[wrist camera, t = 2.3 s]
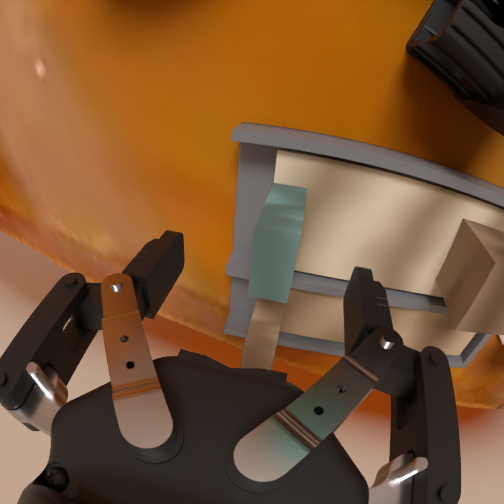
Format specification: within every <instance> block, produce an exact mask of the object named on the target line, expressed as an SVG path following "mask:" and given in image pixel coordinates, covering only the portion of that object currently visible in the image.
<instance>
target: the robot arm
mask: <svg viewBox="0 0 504 504" xmlns="http://www.w3.org/2000/svg"><path fill="white" fill-rule="evenodd" d="M183 267H184V239H183V234H182V233H180V232H174V231H169V230H167V231H165V232H164V234H163V235H162V236H161V237H160V238H159V239H153V240H152V241H150V242H148V243H146V245H145V246H144V247H143V248H142V249H141V251H140V252H139V253H138V254H137V256H135V257H134V259H133V260H132V261H131V262H130V263H129V264H128V266H127V267H126V268H125V269H124V270H123V272H122V273H116V274H112V275H109V276H107V277H106V278H105V279H104V280H103V281H102V283H86V280H85V277H84V275H83V274H81V273H69V274H67V275H65V276H63V277H62V278H61V279H60V280H59V281H58V282H57V284H56V285H55V286H54V287H53V288H52V289H51V291H50V292H49V293H48V294H47V296H46V297H45V298H44V299H43V300H42V302H41V303H40V304H39V306H38V307H37V308H36V309H35V311H34V312H33V313H32V315H31V316H30V317H29V318H28V320H27V321H26V322H25V324H24V325H23V326H22V328H21V329H20V331H19V332H18V333H17V335H16V336H15V338H14V339H13V340H12V342H11V343H10V345H9V346H8V348H7V349H6V351H5V352H4V354H3V355H2V356H1V358H0V403H1V405H2V406H3V407H4V408H5V409H6V410H7V411H8V412H9V413H10V414H11V415H12V416H13V417H14V418H16V419H17V420H18V421H20V422H21V423H23V424H24V425H25V426H26V427H27V428H28V429H30V430H32V431H42V432H44V433H45V434H48V435H49V436H51V450H50V456H49V461H48V464H47V466H46V468H45V469H44V470H43V472H42V473H41V474H40V475H39V476H38V477H37V478H36V479H35V480H34V481H33V482H32V483H30V484H29V485H28V486H27V487H26V488H25V489H24V490H23V492H22V494H21V496H20V498H19V501H18V503H17V504H457V503H458V501H459V499H460V495H461V458H460V440H459V429H458V419H457V410H456V402H455V396H454V389H453V383H452V377H451V372H450V367H449V362H448V358H447V356H446V355H445V353H444V352H443V351H442V350H440V349H439V348H437V347H434V346H427V347H425V348H424V349H423V350H422V351H421V352H419V351H416V350H414V349H412V348H409V347H407V346H405V345H404V343H403V339H402V337H401V336H400V334H399V333H398V332H396V331H395V330H394V329H393V324H392V318H391V313H390V308H389V307H388V306H389V304H388V300H387V294H386V290H385V288H384V287H383V286H382V284H381V283H380V282H379V281H374V279H373V274H372V270H371V269H369V268H364V267H359V266H355V267H354V269H353V272H352V275H351V278H350V280H349V283H348V286H347V289H346V291H345V295H344V300H343V313H344V348H345V356H344V357H343V358H342V359H341V360H340V361H339V362H338V363H336V364H335V365H334V366H333V367H332V368H331V369H330V370H329V371H328V372H327V373H326V374H325V375H324V376H322V377H321V378H320V379H319V380H318V381H317V382H316V383H315V384H313V385H312V386H311V387H310V388H309V389H308V390H307V391H305V392H303V391H302V390H301V389H300V388H298V387H297V386H295V385H293V384H292V383H289V382H287V381H286V378H287V373H282V372H277V371H272V370H267V369H262V368H230V367H227V366H225V365H223V364H221V363H219V362H217V361H215V360H213V359H211V358H209V357H207V356H205V355H200V354H197V353H193V352H189V351H186V350H182V349H181V350H180V352H179V354H178V356H167V357H161V358H158V359H155V360H152V358H151V354H150V351H149V347H148V343H147V340H146V336H145V333H144V329H143V325H142V320H143V318H144V317H147V318H150V319H154V317H155V315H156V314H157V312H158V310H159V309H160V307H161V305H162V304H163V302H164V300H165V299H166V297H167V295H168V294H169V292H170V290H171V289H172V287H173V285H174V284H175V282H176V281H177V279H178V277H179V276H180V274H181V272H182V270H183ZM69 318H71V320H70V322H69V323H68V324H67V326H66V328H65V329H64V330H63V327H64V325H65V324H66V322H67V321H68V319H69ZM98 330H103V337H104V344H105V351H106V357H107V363H108V367H109V374H110V380H111V381H110V382H108V383H106V384H104V385H102V386H100V387H98V388H96V389H94V390H92V391H90V392H88V393H86V394H84V395H82V396H80V397H78V398H76V399H74V400H71V401H69V402H68V403H67V398H68V390H67V387H66V386H67V384H68V382H69V380H70V379H71V377H72V375H73V373H74V371H75V370H76V368H77V365H78V364H79V362H80V361H81V359H82V357H83V355H84V354H85V352H86V350H87V348H88V347H89V345H90V343H91V342H92V340H93V338H94V337H95V335H96V333H97V332H98ZM373 388H374V389H377V390H379V391H382V392H384V393H387V394H389V395H391V435H390V436H391V437H390V456H389V463H387V464H386V465H384V466H383V467H381V469H380V470H379V471H378V473H377V475H376V479H375V482H374V484H373V485H372V487H371V488H368V485H367V482H366V480H365V478H364V477H363V475H362V474H361V473H360V471H359V469H358V468H357V467H356V465H355V464H354V462H353V461H352V460H351V458H350V457H349V455H348V454H347V452H346V451H345V449H344V448H343V446H342V445H341V443H340V442H339V441H338V439H337V438H336V436H335V435H334V432H335V431H336V430H337V428H338V427H339V426H340V425H341V424H342V423H343V422H344V421H345V420H346V419H347V418H348V417H349V416H350V415H351V413H352V412H353V411H354V410H355V409H356V408H357V407H358V406H359V404H360V403H361V402H362V401H363V400H364V399H365V398H366V397H367V395H368V394H369V393H370V392H371V391H372V389H373Z"/></svg>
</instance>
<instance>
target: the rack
mask: <svg viewBox="0 0 504 504" xmlns="http://www.w3.org/2000/svg"><path fill="white" fill-rule="evenodd" d="M232 141H238V142H240V146H239V160H238V175H237V190H236V205H235V221H234V238H233V253H232V255H231V257H230V259H229V261H228V263H227V265H226V269H225V275H229V276H231V295H230V313H229V316H228V318H227V321H226V324H225V326H224V334H228V335H233V336H237V337H241V338H246V335H247V332H248V329H249V325H250V322H251V319H252V315H253V312H254V309H255V305H256V302H257V297H252V296H248V288H249V278H250V268H251V258H252V248H253V238H254V228H255V224H256V222H257V220H258V217H259V215H260V213H261V210H262V208H263V206H264V204H265V201H266V199H267V197H268V194H269V192H270V190H271V187H272V185H273V183H274V175H275V167H276V158H277V150H278V148H279V147H282V148H289V149H295V150H301V151H306V152H312V153H317V154H323V155H328V156H333V157H338V158H343V159H347V160H352V161H356V162H361V163H365V164H369V165H373V166H378V167H382V168H386V169H389V170H393V171H397V172H401V173H404V174H408V175H412V176H415V177H419V178H422V179H425V180H429V181H432V182H435V183H438V184H441V185H445V186H448V187H451V188H454V189H457V190H460V191H463V192H465V193H468V194H471V195H474V196H477V197H479V198H482V199H485V200H487V201H490V202H492V203H495V204H498V205H500V206H503V207H504V189H503V188H501V187H499V186H496V185H494V184H491V183H489V182H487V181H484V180H482V179H479V178H477V177H474V176H472V175H469V174H466V173H464V172H461V171H458V170H455V169H453V168H450V167H447V166H444V165H441V164H438V163H435V162H432V161H429V160H426V159H422V158H419V157H416V156H413V155H409V154H406V153H402V152H399V151H395V150H391V149H388V148H384V147H380V146H376V145H372V144H368V143H364V142H359V141H355V140H350V139H346V138H341V137H336V136H331V135H326V134H321V133H316V132H310V131H304V130H298V129H292V128H285V127H278V126H271V125H263V124H255V123H246V122H243V123H242V124H240V125H238V126H237V127H235V128H233V132H232ZM348 283H349V280H343V279H338V278H333V277H327V276H322V275H317V274H311V273H306V272H301V271H295V270H294V273H293V277H292V282H291V287H290V288H294V289H299V290H305V291H310V292H315V293H321V294H326V295H332V296H337V297H343V298H344V295H345V291H346V289H347V286H348ZM384 288H385V290H386V294H387V300H388V304H389V306H395V307H401V308H407V309H414V310H420V311H426V312H433V313H440V314H446V315H449V312H448V310H447V307H446V304H445V301H444V299H443V298H442V297H437V296H431V295H426V294H420V293H414V292H409V291H403V290H398V289H392V288H387V287H384ZM491 335H492V334H483V333H476V334H475V335H474V337H473V338H472V339H471V341H470V342H469V343H468V345H467V346H466V347H465V348H464V350H463V351H462V352H461V354H460V355H459V356H458V355H446V356H447V358H448V362H449V367H459V368H465V367H466V366H467V365H468V364H469V363H470V361H471V360H472V359H473V358H474V357H475V355H476V354H477V353H478V352H479V351H480V349H481V348H482V347H483V346H484V344H485V343H486V342H487V340H488V339H489V338H490V336H491ZM277 345H280V346H285V347H290V348H296V349H301V350H307V351H313V352H319V353H325V354H331V355H338V356H345V348H344V343H343V342H336V341H330V340H324V339H318V338H312V337H307V336H301V335H296V334H290V333H285V332H280V331H279V336H278V341H277Z"/></svg>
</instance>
